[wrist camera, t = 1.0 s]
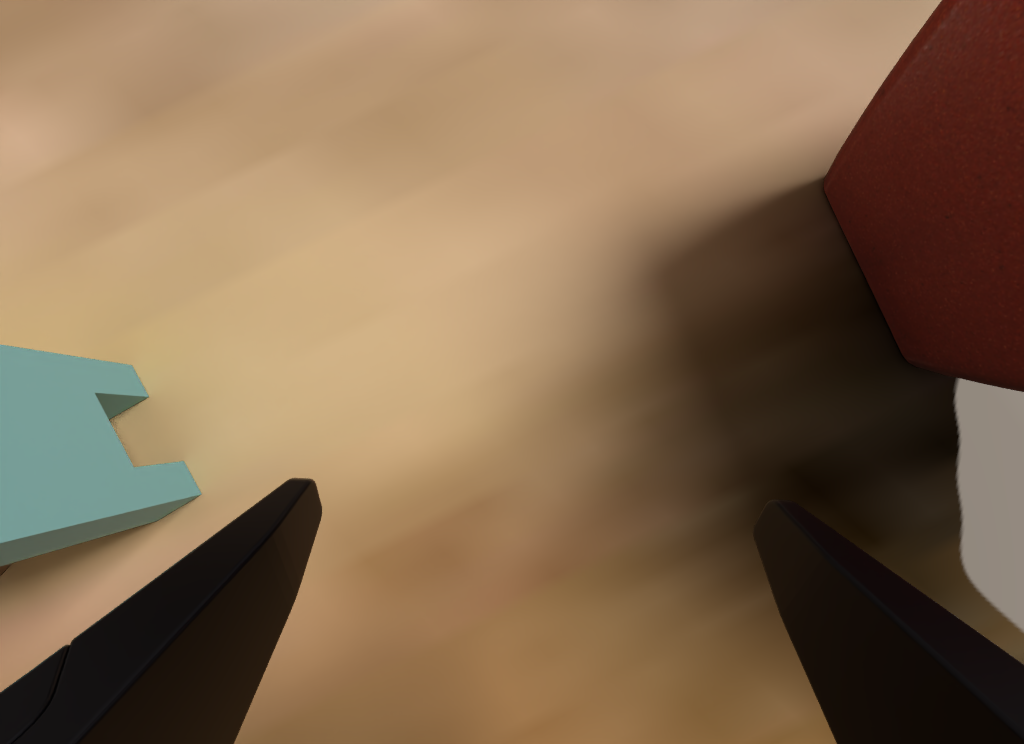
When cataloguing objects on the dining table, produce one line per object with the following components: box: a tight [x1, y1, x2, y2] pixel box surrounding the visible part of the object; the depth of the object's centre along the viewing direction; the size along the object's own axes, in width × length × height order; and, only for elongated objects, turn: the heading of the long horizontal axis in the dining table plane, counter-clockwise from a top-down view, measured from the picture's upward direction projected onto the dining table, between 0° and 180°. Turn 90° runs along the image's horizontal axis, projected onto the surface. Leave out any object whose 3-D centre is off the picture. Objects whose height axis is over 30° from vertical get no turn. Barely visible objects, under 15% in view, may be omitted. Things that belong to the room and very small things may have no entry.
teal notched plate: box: [0, 345, 201, 566], centre depth 17 cm, size 8×2×10 cm, turn 32°
